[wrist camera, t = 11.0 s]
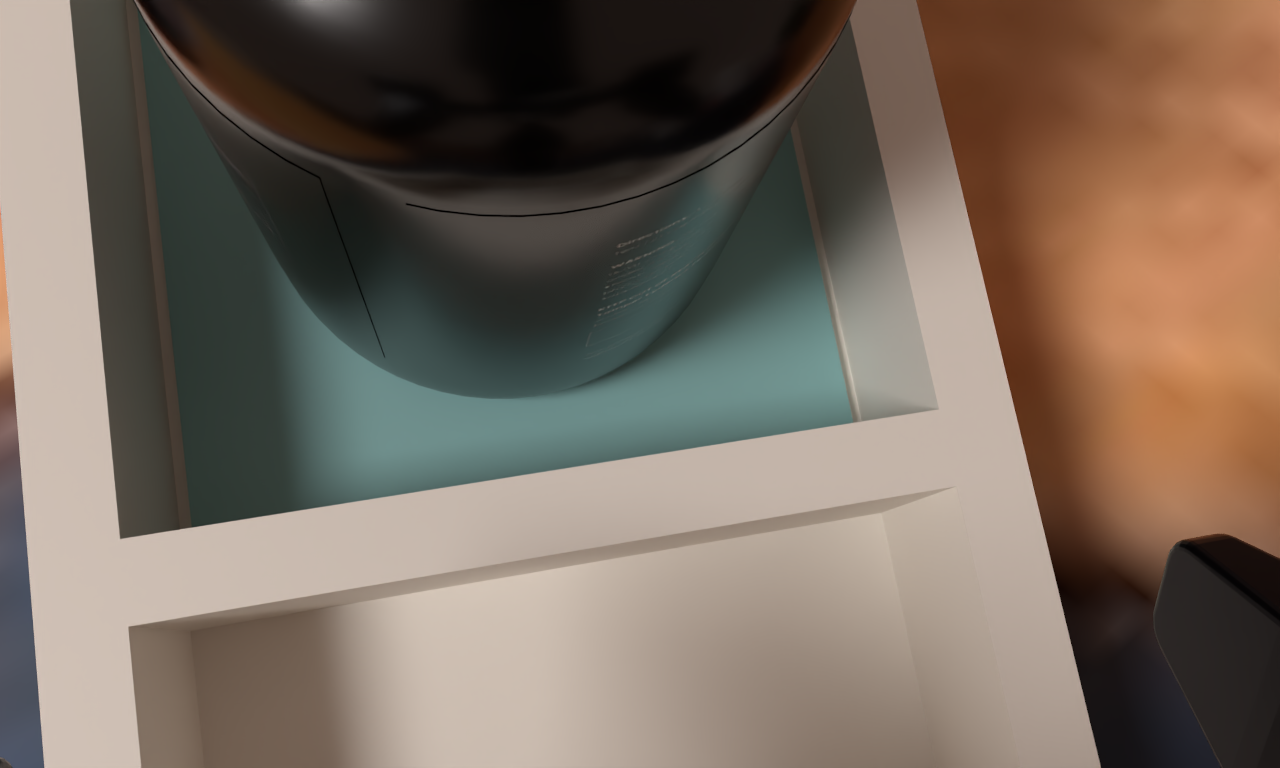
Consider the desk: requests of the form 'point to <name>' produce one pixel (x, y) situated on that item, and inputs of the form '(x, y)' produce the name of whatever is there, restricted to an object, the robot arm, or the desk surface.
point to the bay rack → (519, 471)
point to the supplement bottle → (496, 163)
